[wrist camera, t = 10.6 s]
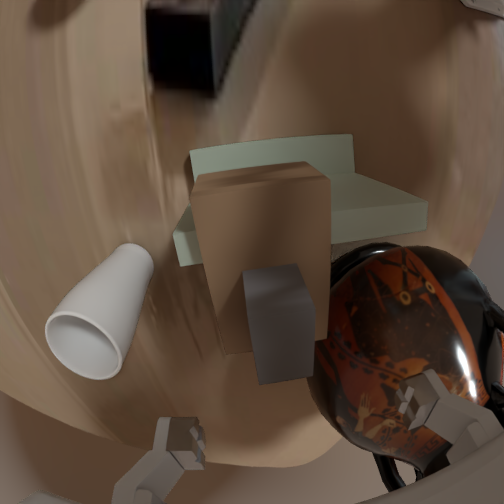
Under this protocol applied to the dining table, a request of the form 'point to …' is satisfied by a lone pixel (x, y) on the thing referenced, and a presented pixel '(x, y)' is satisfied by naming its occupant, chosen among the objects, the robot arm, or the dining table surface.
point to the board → (342, 189)
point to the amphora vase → (404, 349)
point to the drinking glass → (101, 314)
